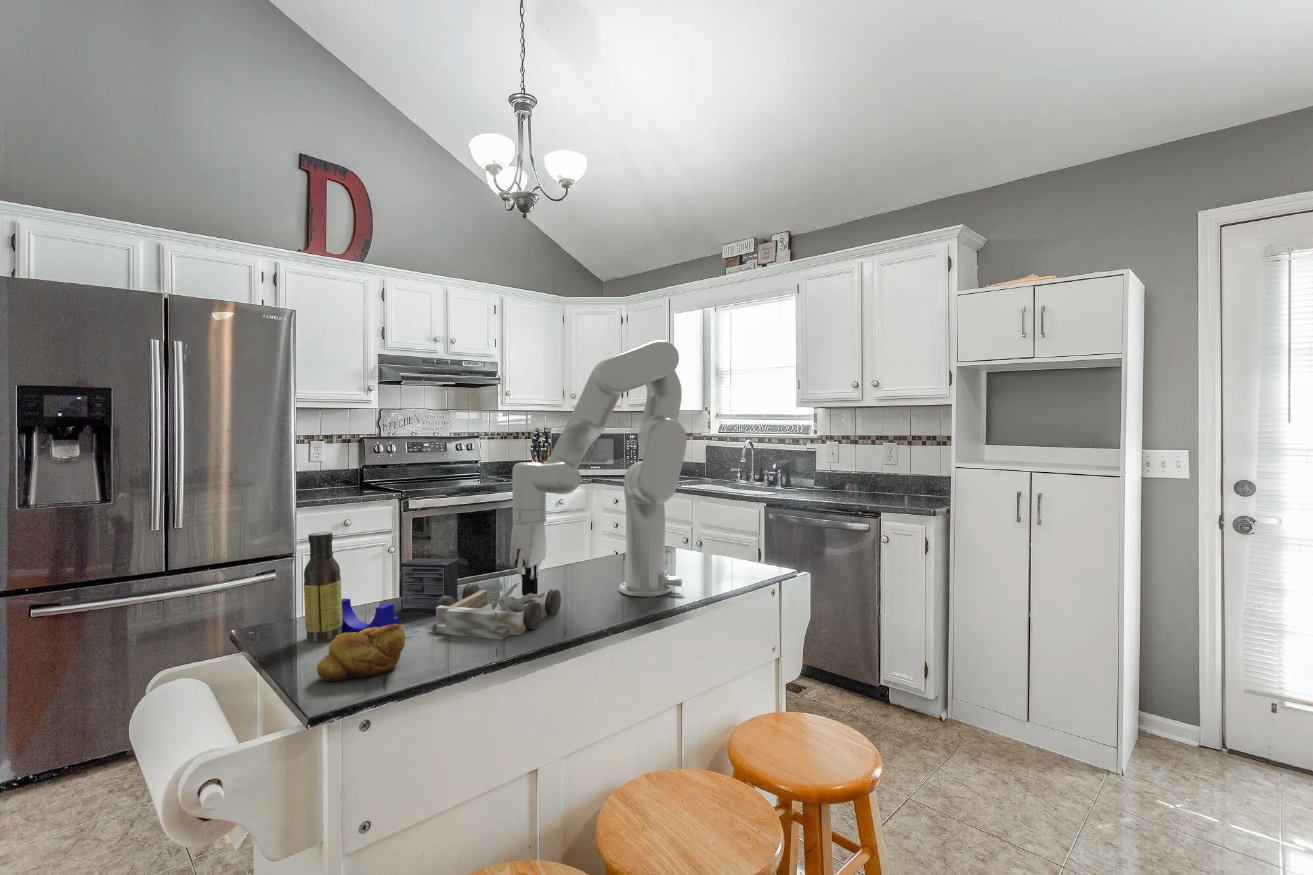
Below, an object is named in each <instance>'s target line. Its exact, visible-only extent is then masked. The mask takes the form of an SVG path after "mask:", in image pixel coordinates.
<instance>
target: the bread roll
mask: <svg viewBox="0 0 1313 875" xmlns="http://www.w3.org/2000/svg"><path fill="white" fill-rule="evenodd" d="M405 645H406V636H405V632H404V629H403V627H402V624H400V623H399V624H391V625H386V626H383V627H380V628H379V627H372V628H366V629H364V630H362V631H360V632H359V633H357V632H350V633H342V634H339V635H337V636H336V637H335V638H334V639H333V640H331V641H330V644H329V646H328V654H326V655H324V656H323V657H322V658H321V659H320V660H319V662H318V664H317V666H316V672H317V675H318V676H319V678H320V679H322V680H326V681H336V682H337V681H344V680H348V679H353V677H355V678H361V677H362V678H363V677H365V678H366V677H375V676H379V675H381V674H385V673H387V672H390V671H391V670H393V669H394V668H395V667H396V666H397V665H398V663H399V661H400V659H401V652H402V651H403V650H404V648H405Z"/></svg>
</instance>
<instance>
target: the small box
mask: <svg viewBox="0 0 1313 875" xmlns="http://www.w3.org/2000/svg"><path fill="white" fill-rule="evenodd" d="M458 561H459V560H458V558H455V559H454V558H415V557H414V558H412V559H409V560H407V561H404V562H402V563H400V574H401V576H400V583H401V584H400V590H401V592H400V593H401V596H400V600H401V602H400V611H401V612H413V611H416V613H417V612H418V613H419V611H420V612H423V611H424V612H423V613H435V608H436V604H437V602H438V600H439V598H440V597H441V596H452V597H453V598H454V600H455V603H456V602H458V599H459V598H458V592H459V591H458V589H459V588H458V570H459V569H458ZM402 598H404V599H402Z"/></svg>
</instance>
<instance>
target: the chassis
mask: <svg viewBox="0 0 1313 875" xmlns="http://www.w3.org/2000/svg"><path fill="white" fill-rule="evenodd" d="M462 590H463V591H462V594H461V599H460V600H459V601H458V602H456V603H455V600H454V598H453V597H452V596H441V597H440V598H439V600H438V602H437V604H436V608H435V612H434V613H435V628H436V631H435V633H436V634H438V633H443V634H442V635H450V636H459V635H460V636H461V637H470V638H472V637H473V638H480V637H481V638H482V639H483V638H484V639H493V640H504V639H505V638H507V637H508V636H510V635H512V636H521V635H522V634H524V632H526V631H527V630H536V629H538V628H539V626H540V624H541V621H542V620H543V619H544V618H545V617H547V616H548V615H557V614H558V612H559V611H560V609H561V604H562V595H561V592H560V590H558V589H549V591H548V592H547V594H546V596H545V597H543V599H542V598H541V600H539V601H538V602H533V603H532V602H528V603H527V604H528V605H527V607H526V610H524V612H522V611H514V612H512V611H513V610H511V611H503V610H499V609H494V610H493V609H487V608H482V607H484V606H486V605H488V590H486V589H485V590H484V589H480V587H479V585H478V584H476V583H467V584H466V585H465V586H464V588H463V589H462ZM485 604H486V605H485ZM481 606H482V607H481ZM477 608H479V609H477ZM481 638H480V639H481Z"/></svg>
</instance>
